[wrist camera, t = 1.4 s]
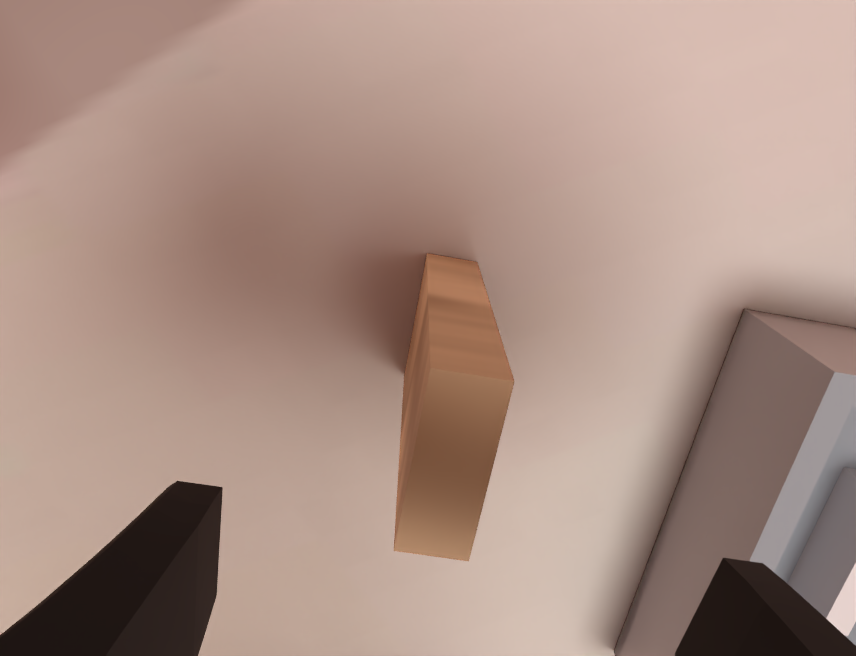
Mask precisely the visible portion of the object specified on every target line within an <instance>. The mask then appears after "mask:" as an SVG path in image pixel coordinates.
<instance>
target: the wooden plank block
mask: <svg viewBox="0 0 856 656" xmlns="http://www.w3.org/2000/svg"><path fill="white" fill-rule="evenodd" d="M513 385H514V379H513V375H512V372H511V369H510V366H509V362H508V359H507V356H506V353H505V350H504V346H503V343H502V340H501V337H500V334H499V330H498V327H497V324H496V321H495V317H494V314H493V311H492V308H491V305H490V301H489V298H488V295H487V292H486V289H485V285H484V282H483V279H482V276H481V273H480V269H479V266H478V263H477V262H474V261H469V260H463V259H457V258H451V257H446V256H440V255H434V254H429V253H427V255H426V261H425V266H424V272H423V277H422V283H421V288H420V293H419V299H418V304H417V310H416V315H415V320H414V326H413V331H412V337H411V342H410V347H409V353H408V358H407V364H406V369H405V374H404V388H403V405H402V422H401V438H400V455H399V472H398V488H397V505H396V521H395V538H394V551H399V552H406V553H413V554H421V555H428V556H435V557H442V558H449V559H456V560H464V561H469V558H470V554H471V550H472V546H473V542H474V538H475V534H476V530H477V526H478V522H479V519H480V515H481V511H482V507H483V503H484V499H485V495H486V491H487V487H488V483H489V479H490V475H491V471H492V467H493V464H494V460H495V456H496V452H497V448H498V444H499V440H500V436H501V432H502V428H503V424H504V420H505V416H506V413H507V409H508V405H509V401H510V397H511V393H512V389H513Z"/></svg>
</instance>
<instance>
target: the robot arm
mask: <svg viewBox="0 0 856 656" xmlns="http://www.w3.org/2000/svg"><path fill="white" fill-rule="evenodd" d="M222 488H223V487H217V486H210V485H203V484H195V483H188V482H181V481H177V482H175V483H174V484H172V485H170V486H169V487H168V488H167V489H166V490H165V491H164V492H163V493H162V494H161V495H160V496H158V497H157V498H156V499H155V500H154V501H153V502H152V503H151V504H150V505H149V506H148V507H147V508H146V509H145V510H144V511H143V512H142V513H141V514H140V515H139V516H138V517H137V518H135V519H134V520H133V521H132V522H131V523H130V524H129V525H128V526H127V527H126V528H125V529H124V530H123V531H122V532H120V533H119V534H118V535H117V536H116V537H115V538H114V539H113V540H112V541H111V542H109V543H108V544H107V545H106V546H105V547H104V548H103V549H102V550H101V551H100V552H99V553H97V554H96V555H95V556H94V557H93V558H92V559H91V560H89V561H88V562H87V563H86V564H85V565H84V566H82V567H81V568H80V569H79V570H78V571H77V572H76V573H74V574H73V575H72V576H71V577H70V578H69V579H68V580H66V581H65V582H64V583H63V584H62V585H61V586H59V587H58V588H57V589H56V590H55V591H54V592H53V593H51V594H50V595H49V596H48V597H47V598H46V599H44V600H43V601H42V602H41V603H40V604H38V605H37V606H36V607H35V608H34V609H32V610H31V611H30V612H29V613H27V614H26V615H25V616H24V617H22V618H21V619H20V620H19V621H17V622H16V623H15V624H14V625H12V626H11V627H10V628H9V629H7V630H6V631H5V632H4V633H2V634H1V635H0V656H198V654H199V650H200V647H201V644H202V641H203V638H204V635H205V631H206V628H207V625H208V622H209V618H210V615H211V612H212V608H213V605H214V602H215V599H216V595H217V577H218V559H219V542H220V524H221V506H222ZM675 656H856V645H854V644H853V643H852V642H851V641H850V640H849V639H848V638H847V637H846V636H845V635H844V634H842V633H841V632H840V631H839V630H838V629H837V628H836V627H835V626H834V625H833V624H832V623H831V622H829V621H828V620H827V619H826V618H825V617H824V616H823V615H822V614H821V613H820V612H818V611H817V610H816V609H815V608H814V607H813V606H812V605H811V604H810V603H809V602H807V601H806V600H805V599H804V598H803V597H802V596H801V595H800V594H799V593H797V592H796V591H795V590H794V589H793V588H792V587H791V586H790V585H788V584H787V583H786V582H785V581H784V580H783V579H781V578H780V577H779V576H778V575H777V574H775V573H774V572H773V571H772V570H771V569H769V568H768V567H767V566H766V565H764V564H763V563H758V562H751V561H744V560H737V559H730V558H723V559H722V561H721V563H720V565H719V567H718V569H717V570H716V572H715V574H714V576H713V578H712V580H711V582H710V584H709V586H708V588H707V590H706V592H705V594H704V596H703V598H702V600H701V602H700V604H699V606H698V608H697V610H696V612H695V614H694V616H693V618H692V620H691V622H690V624H689V626H688V628H687V630H686V632H685V634H684V636H683V638H682V640H681V642H680V644H679V646H678V648H677V650H676V652H675Z"/></svg>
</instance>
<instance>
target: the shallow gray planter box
mask: <svg viewBox="0 0 856 656" xmlns="http://www.w3.org/2000/svg"><path fill="white" fill-rule="evenodd" d="M723 558H730V559H737V560H744V561H751V562H758V563H763V564H764V565H766V566H767V567H768V568H769V569H771V570H772V571H773V572H774V573H775V574H777V575H778V576H779V577H780V578H781V579H783V580H784V581H785V582H786V583H787V584H788V585H790V586H791V587H792V588H793V589H794V590H795V591H796V592H797V593H799V594H800V595H801V596H802V597H803V598H804V599H805V600H806V601H807V602H809V603H810V604H811V605H812V606H813V607H814V608H815V609H816V610H817V611H818V612H820V613H821V614H822V615H823V616H824V617H825V618H826V619H827V620H828V621H829V622H831V623H832V624H833V625H834V626H835V627H836V628H837V629H838V630H839V631H840V632H841V633H842V634H844V635H845V636H846V637H847V638H848V639H849V640H850V641H851V642H852V643H853V644H854V645H856V328H851V327H845V326H839V325H833V324H828V323H822V322H816V321H811V320H805V319H799V318H793V317H788V316H782V315H776V314H771V313H765V312H759V311H753V310H748V309H744V311H743V313H742V316H741V319H740V321H739V324H738V327H737V329H736V332H735V334H734V337H733V340H732V342H731V345H730V348H729V350H728V353H727V356H726V358H725V361H724V363H723V366H722V369H721V371H720V374H719V377H718V379H717V382H716V384H715V387H714V390H713V392H712V395H711V398H710V400H709V403H708V405H707V408H706V411H705V413H704V416H703V419H702V421H701V424H700V426H699V429H698V432H697V434H696V437H695V440H694V442H693V445H692V447H691V450H690V453H689V455H688V458H687V461H686V463H685V466H684V468H683V471H682V474H681V476H680V479H679V482H678V484H677V487H676V489H675V492H674V495H673V497H672V500H671V503H670V505H669V508H668V510H667V513H666V516H665V518H664V521H663V524H662V526H661V529H660V532H659V534H658V537H657V539H656V542H655V545H654V547H653V550H652V553H651V555H650V558H649V560H648V563H647V566H646V568H645V571H644V574H643V576H642V579H641V581H640V584H639V587H638V589H637V592H636V595H635V597H634V600H633V602H632V605H631V608H630V610H629V613H628V616H627V618H626V621H625V623H624V626H623V629H622V631H621V634H620V637H619V639H618V642H617V644H616V647H615V650H614V653H615V656H675V652H676V650H677V648H678V646H679V644H680V642H681V640H682V638H683V636H684V634H685V632H686V630H687V628H688V626H689V624H690V622H691V620H692V618H693V616H694V614H695V612H696V610H697V608H698V606H699V604H700V602H701V600H702V598H703V596H704V594H705V592H706V590H707V588H708V586H709V584H710V582H711V580H712V578H713V576H714V574H715V572H716V570H717V569H718V567H719V565H720V563H721V561H722V559H723Z"/></svg>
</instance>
